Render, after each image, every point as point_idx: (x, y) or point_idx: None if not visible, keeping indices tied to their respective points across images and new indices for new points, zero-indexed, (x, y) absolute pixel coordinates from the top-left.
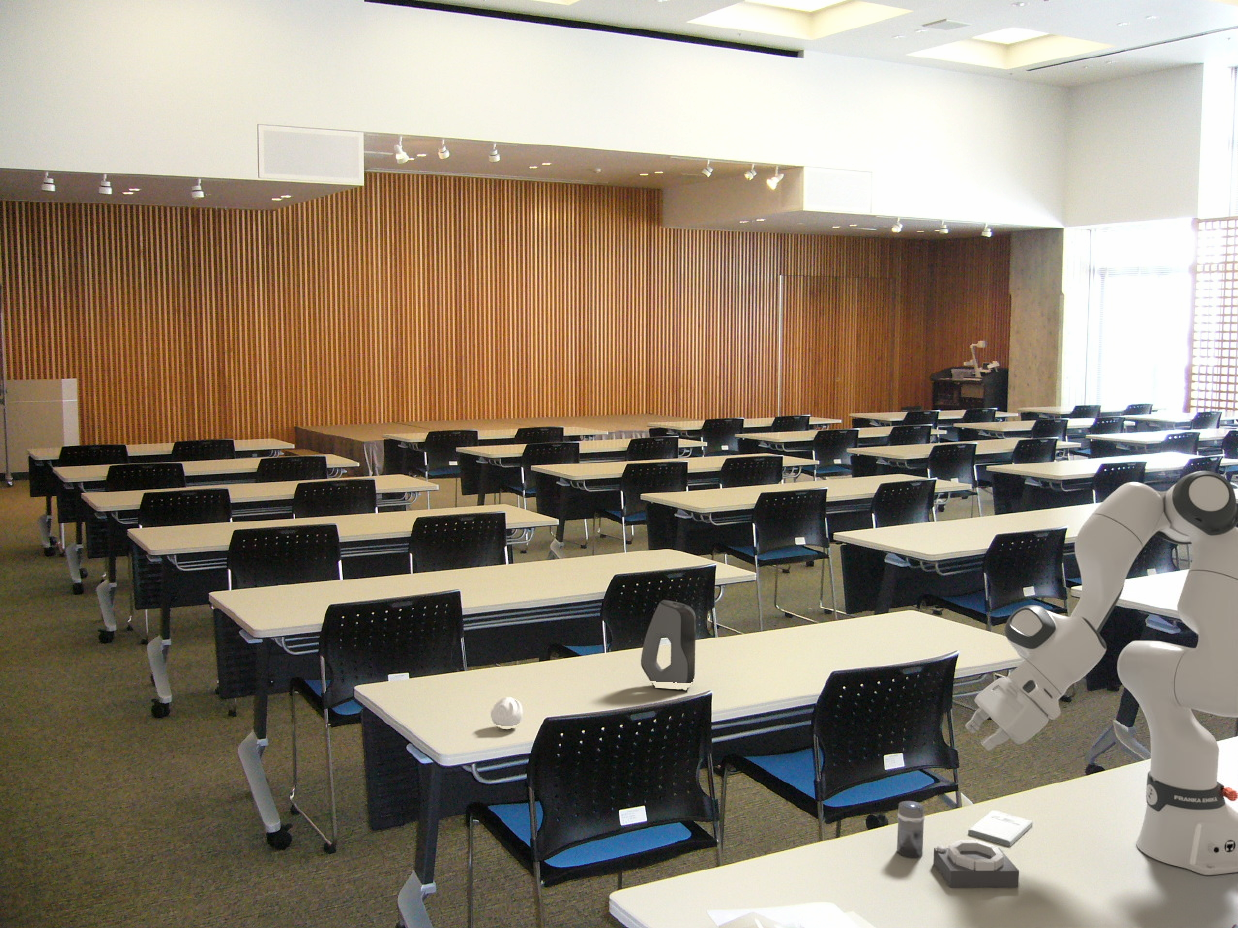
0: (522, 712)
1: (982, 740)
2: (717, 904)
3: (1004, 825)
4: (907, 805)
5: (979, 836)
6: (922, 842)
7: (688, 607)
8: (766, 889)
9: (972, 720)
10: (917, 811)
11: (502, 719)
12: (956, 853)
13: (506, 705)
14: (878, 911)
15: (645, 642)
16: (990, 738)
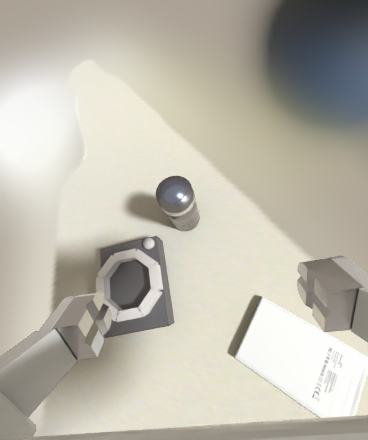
0: None
1: (90, 298)
2: (83, 97)
3: (299, 365)
4: (170, 186)
5: (254, 312)
6: (177, 225)
7: None
8: (103, 117)
9: (362, 290)
10: (157, 199)
11: None
12: (117, 256)
13: None
14: (70, 190)
15: None
16: (34, 334)
